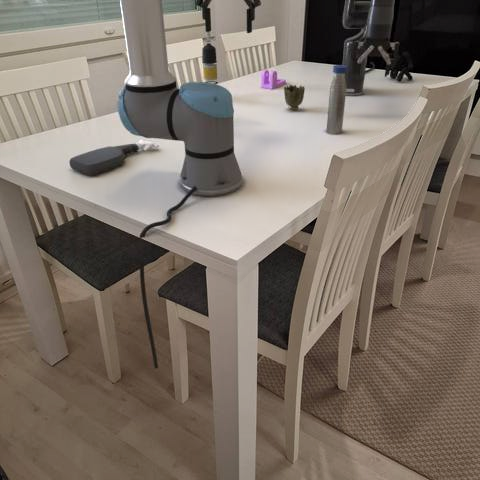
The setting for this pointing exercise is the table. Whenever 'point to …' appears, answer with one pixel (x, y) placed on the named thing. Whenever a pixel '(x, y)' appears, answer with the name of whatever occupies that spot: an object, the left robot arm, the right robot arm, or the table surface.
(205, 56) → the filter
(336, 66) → the cap
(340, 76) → the bottle
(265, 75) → the bracket
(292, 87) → the cup
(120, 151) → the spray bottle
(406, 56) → the squiggle
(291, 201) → the table surface
